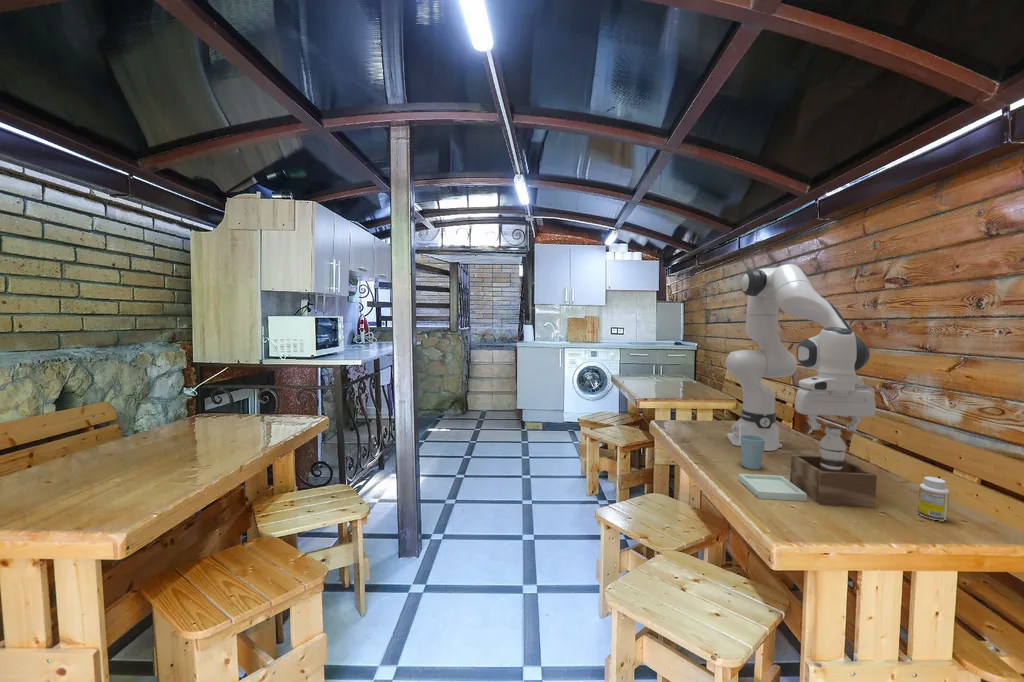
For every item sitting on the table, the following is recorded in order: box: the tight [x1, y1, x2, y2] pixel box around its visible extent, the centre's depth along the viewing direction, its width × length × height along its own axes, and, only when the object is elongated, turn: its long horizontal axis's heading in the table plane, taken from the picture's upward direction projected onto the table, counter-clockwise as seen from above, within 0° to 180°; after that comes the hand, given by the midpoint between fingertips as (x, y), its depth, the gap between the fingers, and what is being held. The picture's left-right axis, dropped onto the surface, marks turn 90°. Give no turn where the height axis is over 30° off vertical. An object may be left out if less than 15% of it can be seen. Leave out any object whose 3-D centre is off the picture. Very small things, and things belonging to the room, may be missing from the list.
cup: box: [740, 435, 766, 470], centre depth 147 cm, size 8×8×10 cm
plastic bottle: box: [818, 425, 847, 472], centre depth 125 cm, size 6×7×20 cm
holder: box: [789, 454, 878, 508], centre depth 125 cm, size 15×14×9 cm
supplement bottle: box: [917, 476, 950, 521], centre depth 111 cm, size 6×6×10 cm
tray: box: [737, 473, 808, 502], centre depth 128 cm, size 14×13×2 cm
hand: (833, 430), depth 124 cm, fingers open, 8 cm apart
